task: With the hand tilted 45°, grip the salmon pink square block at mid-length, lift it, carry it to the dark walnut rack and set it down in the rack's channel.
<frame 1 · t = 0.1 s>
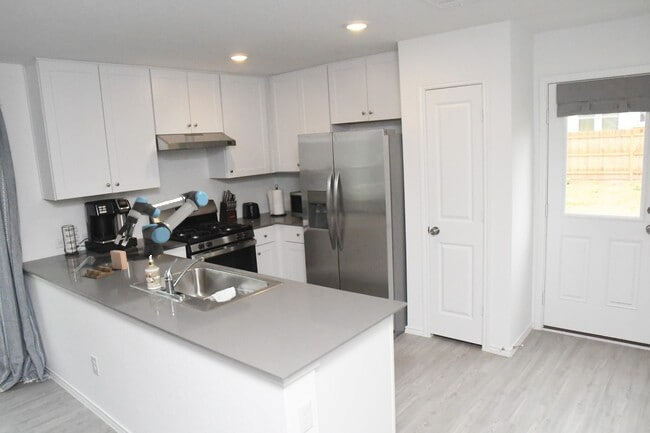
hand: (119, 244, 322), 15 cm above the counter, tool tilted 35°, fingers open, 13 cm apart
bracket: (84, 268, 325), on the counter
salmon pink square block: (120, 268, 317), on the counter
rack: (99, 274, 303), on the counter
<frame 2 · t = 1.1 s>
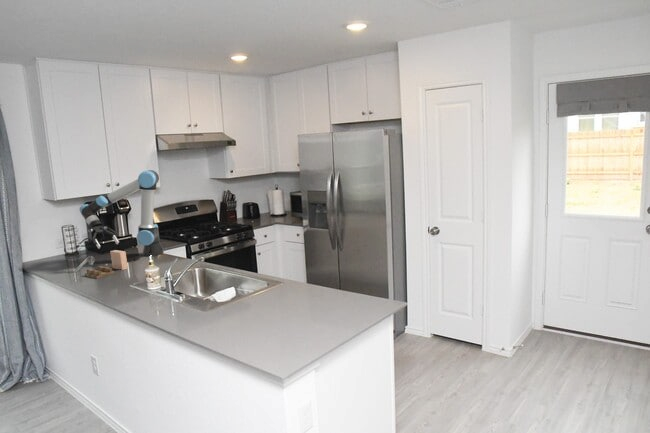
hand: (108, 245, 320), 15 cm above the counter, tool tilted 45°, fingers open, 13 cm apart
nothing on the counter moved.
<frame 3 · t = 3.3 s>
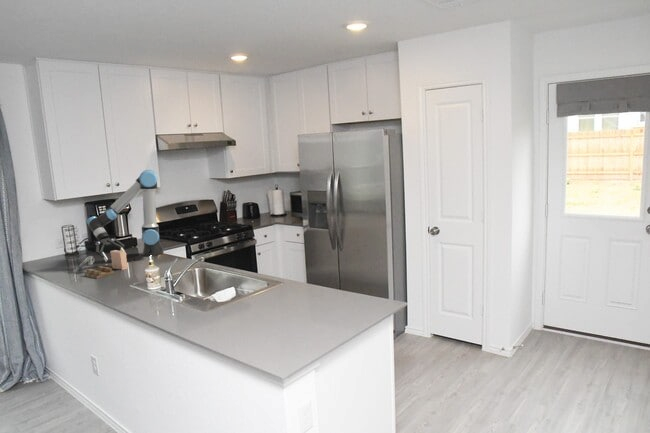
hand: (116, 258, 316), 7 cm above the counter, tool tilted 45°, fingers open, 13 cm apart
nothing on the counter moved.
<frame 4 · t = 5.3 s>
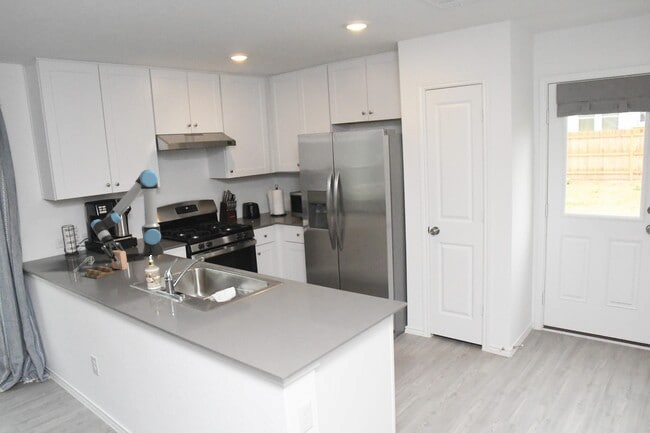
hand: (122, 263, 314), 4 cm above the counter, tool tilted 45°, fingers closed on salmon pink square block, 4 cm apart
salmon pink square block: (120, 268, 317), on the counter, touching gripper
everything else where it was.
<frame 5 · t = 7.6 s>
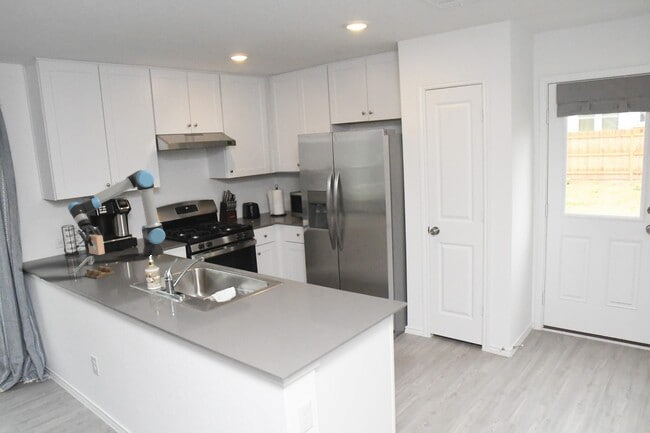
hand: (99, 248, 299), 18 cm above the counter, tool tilted 45°, fingers closed on salmon pink square block, 4 cm apart
salmon pink square block: (97, 253, 302), point 14 cm above the counter, touching gripper
everything else where it was.
when the fingers open (7 cm above the counter, at t = 9.9 s): salmon pink square block drops 1 cm, resting on rack.
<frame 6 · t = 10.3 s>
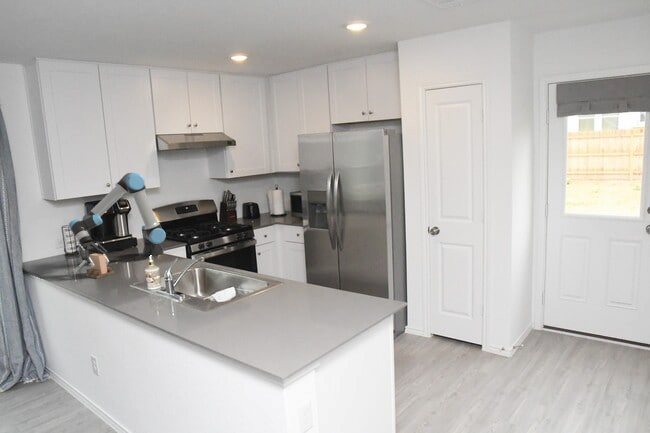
hand: (100, 264, 300), 7 cm above the counter, tool tilted 45°, fingers open, 9 cm apart
salmon pink square block: (99, 272, 303), point 1 cm above the counter, touching rack
everything else where it was.
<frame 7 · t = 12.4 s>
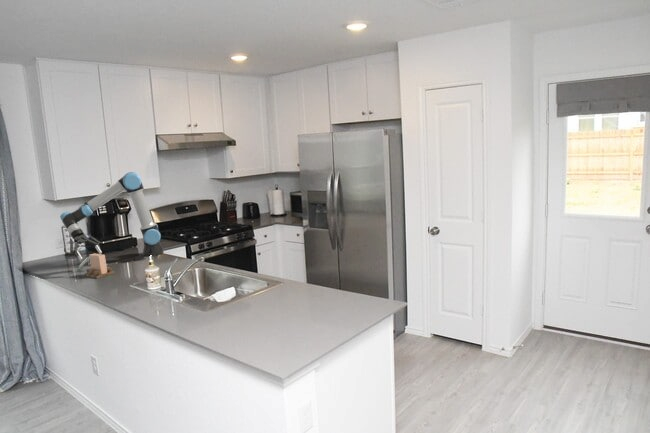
hand: (91, 256, 310), 11 cm above the counter, tool tilted 40°, fingers open, 13 cm apart
nothing on the counter moved.
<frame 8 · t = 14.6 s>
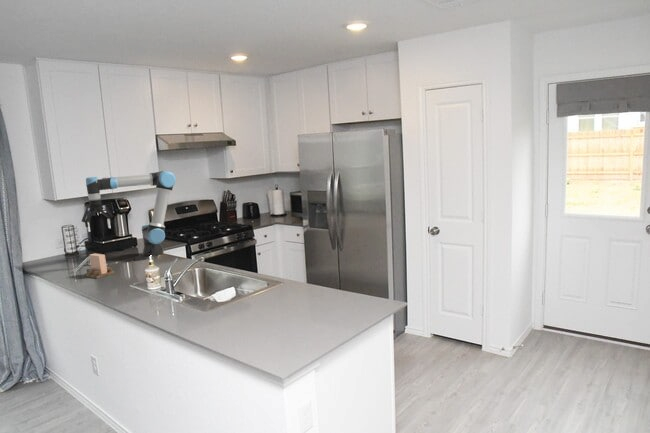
hand: (99, 229, 319), 27 cm above the counter, tool pointing down, fingers open, 13 cm apart
nothing on the counter moved.
at the end: salmon pink square block inside the target area on the rack (0.1 cm from its centre), point 1.5 cm above the rack's base; salmon pink square block tilted 0°; the gripper is holding nothing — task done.
